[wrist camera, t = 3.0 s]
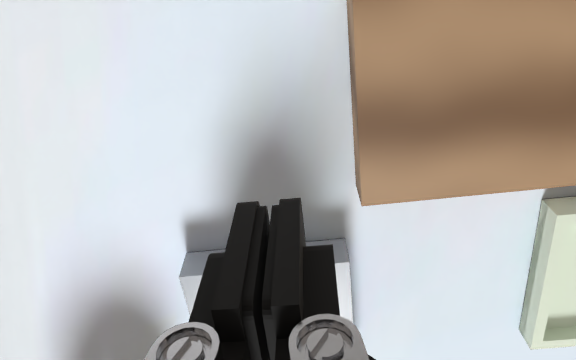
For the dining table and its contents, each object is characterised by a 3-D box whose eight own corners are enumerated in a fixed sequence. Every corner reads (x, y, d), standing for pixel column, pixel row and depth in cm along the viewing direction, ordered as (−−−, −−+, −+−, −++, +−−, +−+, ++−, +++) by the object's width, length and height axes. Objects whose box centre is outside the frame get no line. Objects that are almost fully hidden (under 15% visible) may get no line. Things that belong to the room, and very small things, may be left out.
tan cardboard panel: (345, -8, 19) (352, 0, 17) (591, -38, 19) (631, -34, 17) (354, 180, 24) (361, 206, 21) (555, 160, 23) (583, 184, 21)
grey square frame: (186, 252, 25) (179, 277, 23) (344, 238, 25) (349, 262, 23) (215, 361, 29) (211, 389, 27) (352, 351, 29) (356, 378, 27)
